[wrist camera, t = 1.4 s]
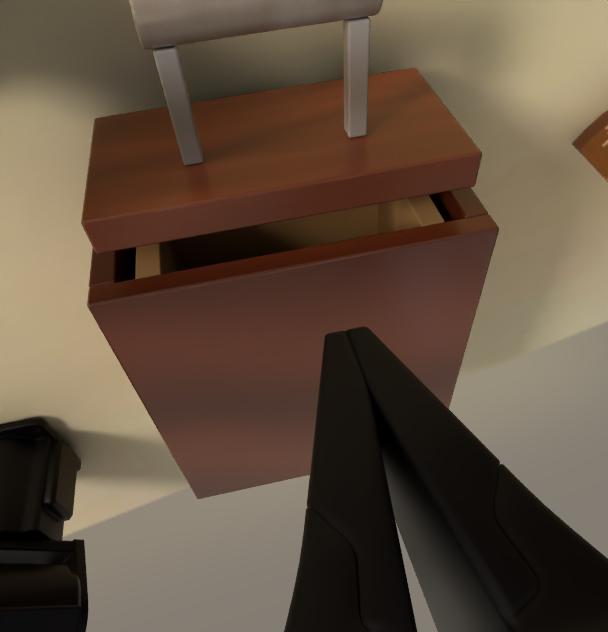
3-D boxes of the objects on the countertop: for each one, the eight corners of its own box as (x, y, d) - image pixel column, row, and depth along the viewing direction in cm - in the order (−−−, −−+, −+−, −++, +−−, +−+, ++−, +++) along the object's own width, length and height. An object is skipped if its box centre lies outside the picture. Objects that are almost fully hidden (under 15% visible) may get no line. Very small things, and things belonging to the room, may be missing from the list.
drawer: (29, -45, 14) (-12, 38, 10) (431, -99, 15) (525, -39, 11) (186, 353, 28) (193, 451, 24) (392, 313, 29) (429, 401, 25)
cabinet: (100, 162, 20) (85, 305, 15) (417, 109, 21) (500, 228, 16) (189, 376, 31) (197, 500, 26) (393, 335, 32) (438, 447, 27)
